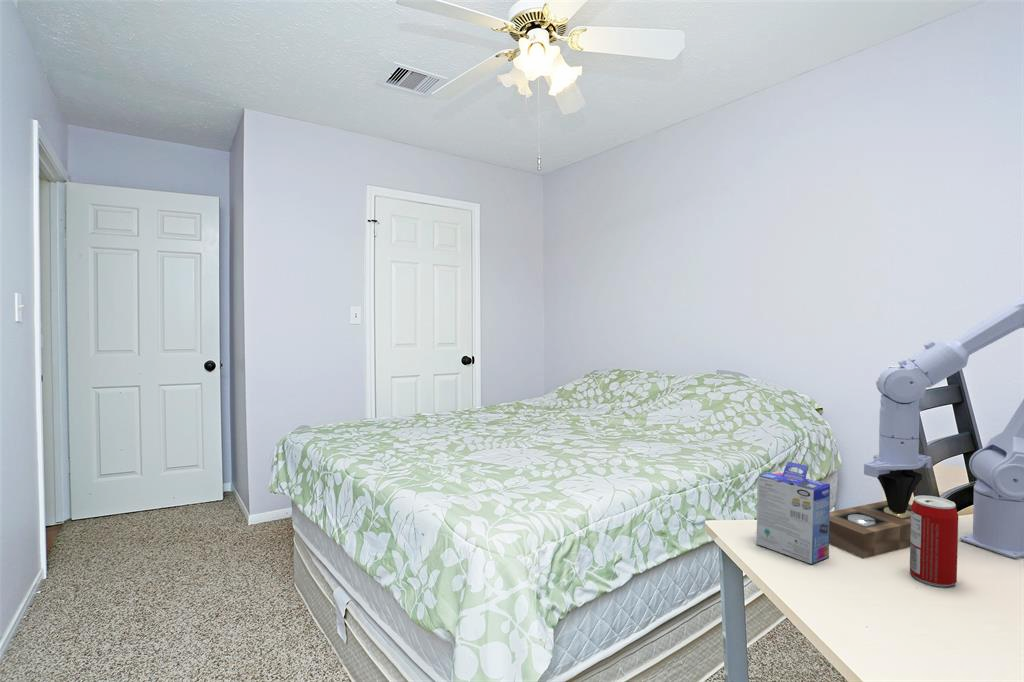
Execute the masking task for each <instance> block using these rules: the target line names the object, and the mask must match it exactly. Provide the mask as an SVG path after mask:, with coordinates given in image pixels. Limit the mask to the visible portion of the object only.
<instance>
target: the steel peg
mask: <svg viewBox="0 0 1024 682" xmlns="http://www.w3.org/2000/svg"><path fill="white" fill-rule="evenodd" d="M848 520H850V521H852V522H855V523H858V524H860V525H863V526H869V525H873V524H875V519H873V518H871V517H868V516H865V515H858V514H852V515H849V516H848Z"/></svg>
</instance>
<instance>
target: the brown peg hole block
mask: <svg viewBox="0 0 1024 682" xmlns="http://www.w3.org/2000/svg"><path fill="white" fill-rule="evenodd" d="M911 506H912V504H910V503H909V504H908V507H907V510H908V511H910V512H911ZM886 507H888V503H887V500H883V501H877V502H872V503H868V504H863V505H857V506H853V507H852V506H851V507H847V508H844V509H838V510H833V511H830V513H829V543H831V544H830V545H832V544H833V545H832V546H834V547H837V548H839V549H841V550H843V551H846V552H848V553H850V554H852V553H853V555H855V556H857V557H859V558H861V559H866V558H870V557H874V556H879V555H883V554H887V553H890V552H895V551H898V550H903V549H907V548H910V535H911V516H910V517H905V518H900V517H897V516H894V515H891V514H888V513H885V512H884V508H886ZM852 514H858V515H865V516H868V517H871V518H873V519H875V524H873V525H869V526H863V525H860V524H858V523H855V522H852V521H850V520H848V516H849V515H852Z"/></svg>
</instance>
